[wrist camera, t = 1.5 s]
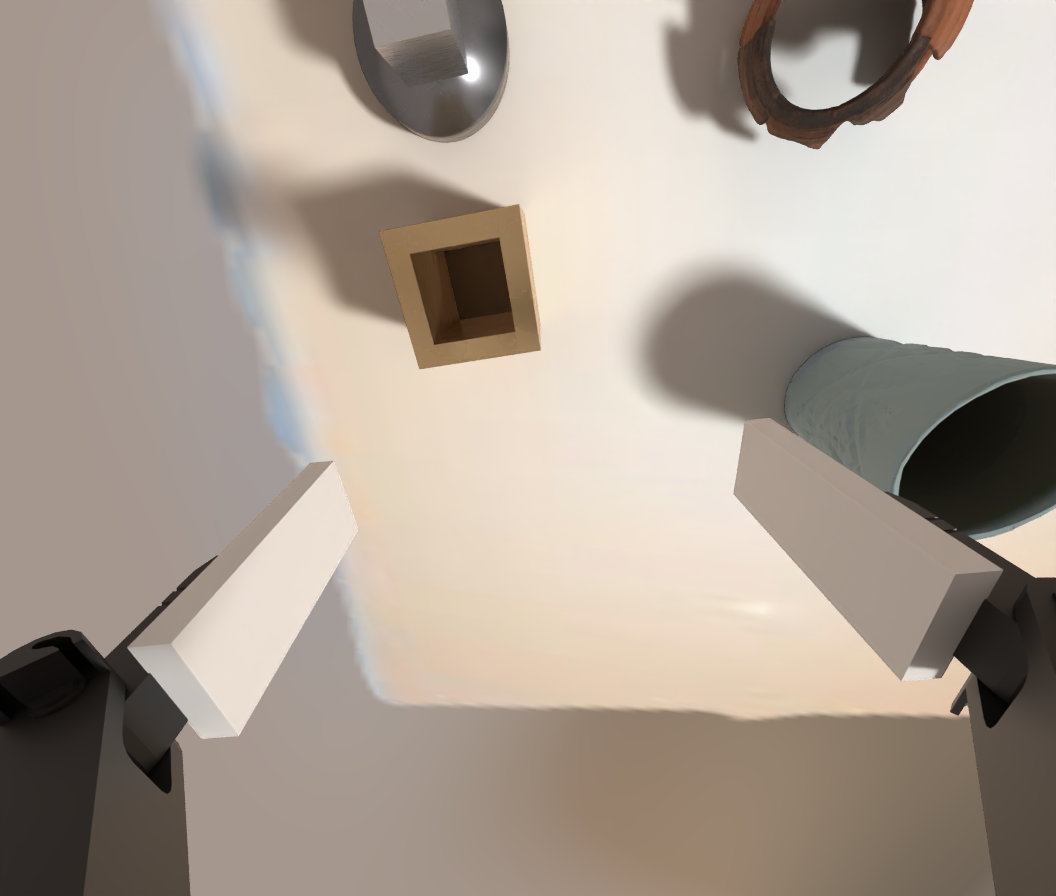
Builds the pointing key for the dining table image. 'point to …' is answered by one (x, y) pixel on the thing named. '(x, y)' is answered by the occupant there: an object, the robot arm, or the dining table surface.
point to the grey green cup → (935, 427)
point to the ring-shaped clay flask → (933, 35)
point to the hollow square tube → (431, 294)
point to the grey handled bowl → (434, 62)
